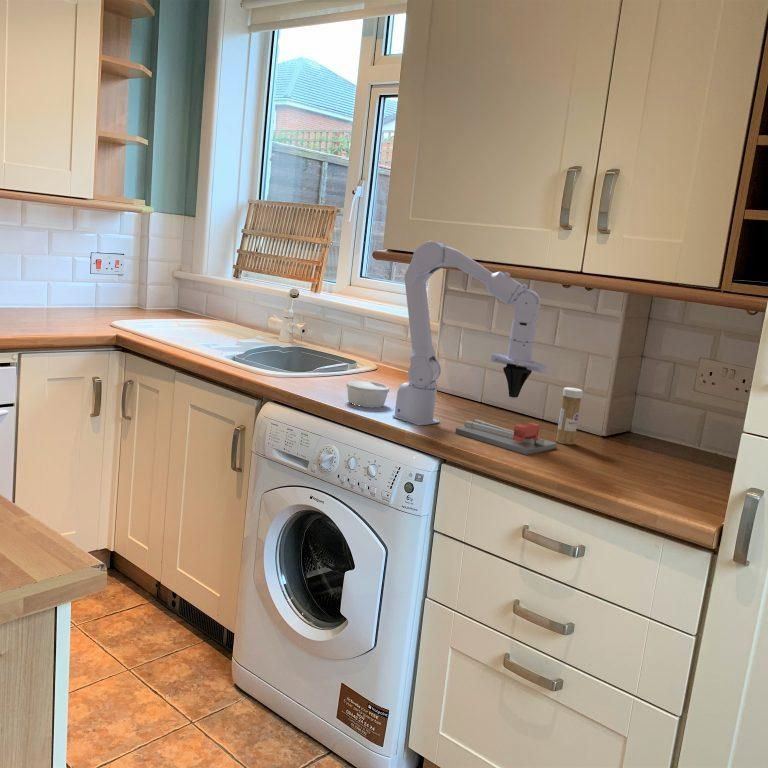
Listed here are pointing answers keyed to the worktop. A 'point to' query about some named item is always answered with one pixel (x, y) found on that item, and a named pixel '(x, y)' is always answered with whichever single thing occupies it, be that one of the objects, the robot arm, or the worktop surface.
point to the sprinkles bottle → (569, 415)
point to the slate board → (504, 441)
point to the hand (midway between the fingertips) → (513, 396)
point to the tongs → (501, 431)
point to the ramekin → (367, 393)
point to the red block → (525, 431)
